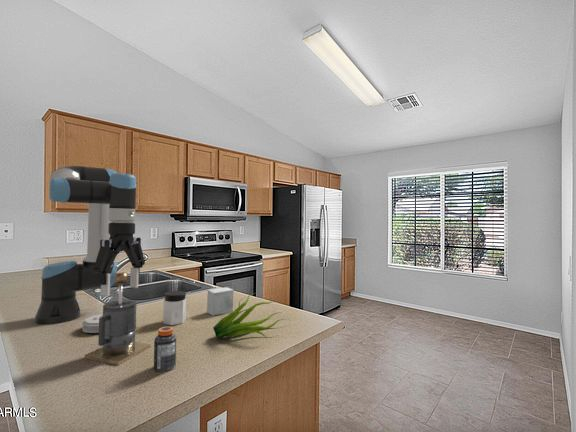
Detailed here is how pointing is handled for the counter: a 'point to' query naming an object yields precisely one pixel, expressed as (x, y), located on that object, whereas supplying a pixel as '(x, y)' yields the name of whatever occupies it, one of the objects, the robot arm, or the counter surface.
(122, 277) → the plunger
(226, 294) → the skincare box
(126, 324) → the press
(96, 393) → the counter surface
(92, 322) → the white round disc
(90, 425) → the counter surface
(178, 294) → the jar
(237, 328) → the decorative plant
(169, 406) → the counter surface
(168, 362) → the pill bottle
